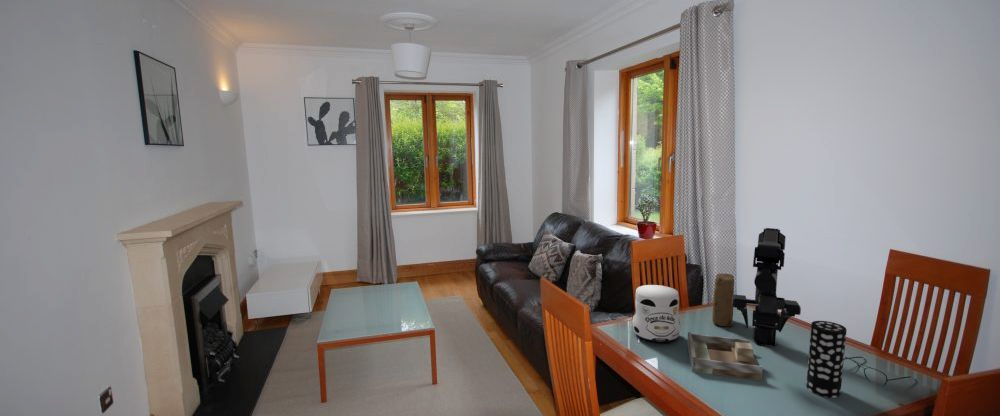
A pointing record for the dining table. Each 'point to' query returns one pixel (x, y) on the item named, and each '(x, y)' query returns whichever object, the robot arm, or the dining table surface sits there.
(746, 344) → the beech block
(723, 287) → the block
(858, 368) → the glasses
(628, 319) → the dining table surface
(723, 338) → the shallow wooden tray
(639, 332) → the milk container
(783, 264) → the robot arm
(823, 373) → the spotted tube
